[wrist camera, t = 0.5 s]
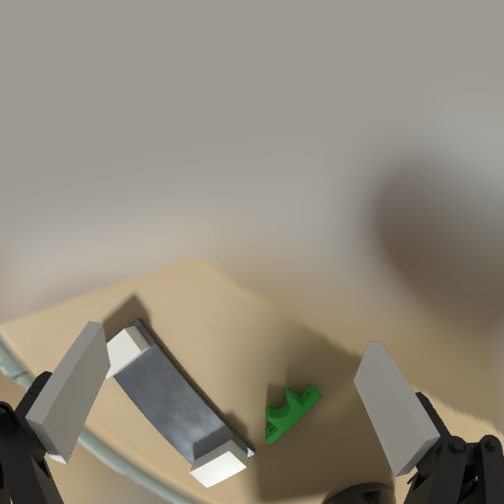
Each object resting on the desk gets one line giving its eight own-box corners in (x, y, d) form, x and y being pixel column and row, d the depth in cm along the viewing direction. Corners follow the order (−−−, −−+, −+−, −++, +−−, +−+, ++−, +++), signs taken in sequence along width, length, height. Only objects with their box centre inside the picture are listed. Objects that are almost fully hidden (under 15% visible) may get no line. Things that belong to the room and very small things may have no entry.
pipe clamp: (300, 374, 42) (304, 382, 38) (316, 387, 41) (322, 396, 37) (253, 420, 41) (252, 432, 37) (270, 432, 41) (271, 444, 36)
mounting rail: (254, 450, 40) (254, 466, 35) (209, 476, 39) (204, 491, 34) (140, 318, 43) (127, 321, 38) (100, 352, 43) (84, 358, 38)
